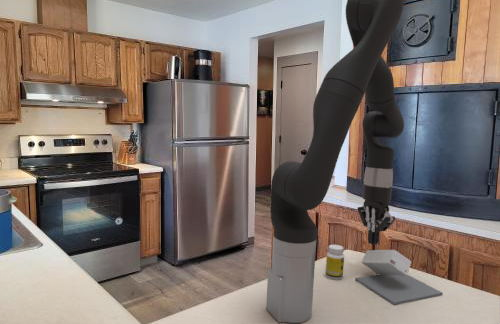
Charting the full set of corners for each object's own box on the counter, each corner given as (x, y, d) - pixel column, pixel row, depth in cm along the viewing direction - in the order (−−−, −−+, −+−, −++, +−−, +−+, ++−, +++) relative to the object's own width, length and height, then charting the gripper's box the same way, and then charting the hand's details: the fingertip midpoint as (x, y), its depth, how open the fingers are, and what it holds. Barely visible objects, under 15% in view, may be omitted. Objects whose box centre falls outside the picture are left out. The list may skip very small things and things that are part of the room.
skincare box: (381, 261, 104) (413, 261, 93) (376, 275, 102) (407, 276, 91) (365, 249, 103) (395, 248, 92) (359, 263, 101) (389, 263, 90)
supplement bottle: (343, 281, 97) (345, 250, 96) (325, 278, 98) (327, 248, 97) (342, 273, 102) (344, 245, 101) (325, 271, 103) (327, 243, 102)
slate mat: (394, 305, 85) (394, 302, 85) (355, 280, 98) (355, 278, 98) (442, 295, 91) (442, 292, 91) (399, 272, 104) (400, 270, 104)
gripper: (351, 180, 105) (347, 237, 107) (384, 188, 93) (379, 253, 95) (371, 179, 108) (367, 235, 110) (406, 187, 96) (400, 250, 98)
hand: (372, 243), depth 103 cm, fingers closed
